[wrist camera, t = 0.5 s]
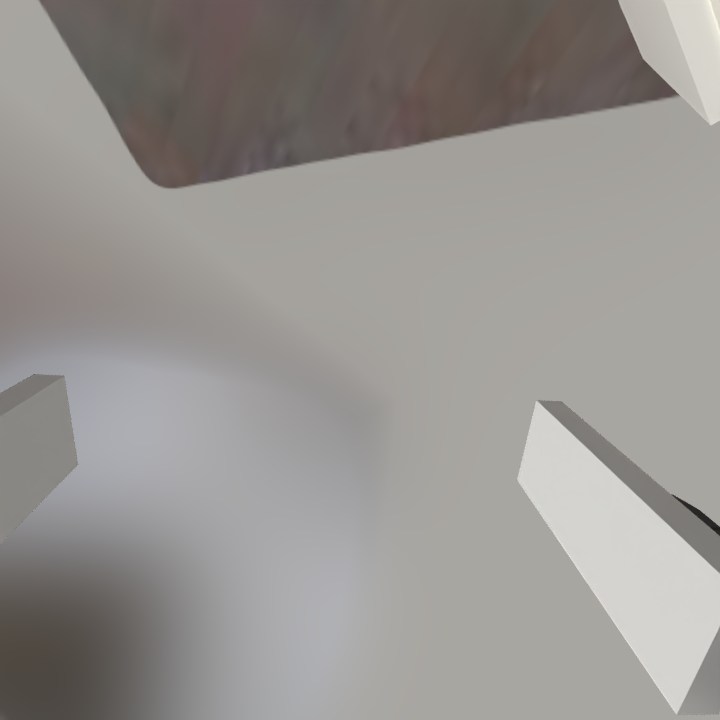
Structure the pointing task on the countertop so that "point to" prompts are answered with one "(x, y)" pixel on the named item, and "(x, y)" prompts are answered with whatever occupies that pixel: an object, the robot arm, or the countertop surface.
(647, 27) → the control box
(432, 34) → the countertop surface
